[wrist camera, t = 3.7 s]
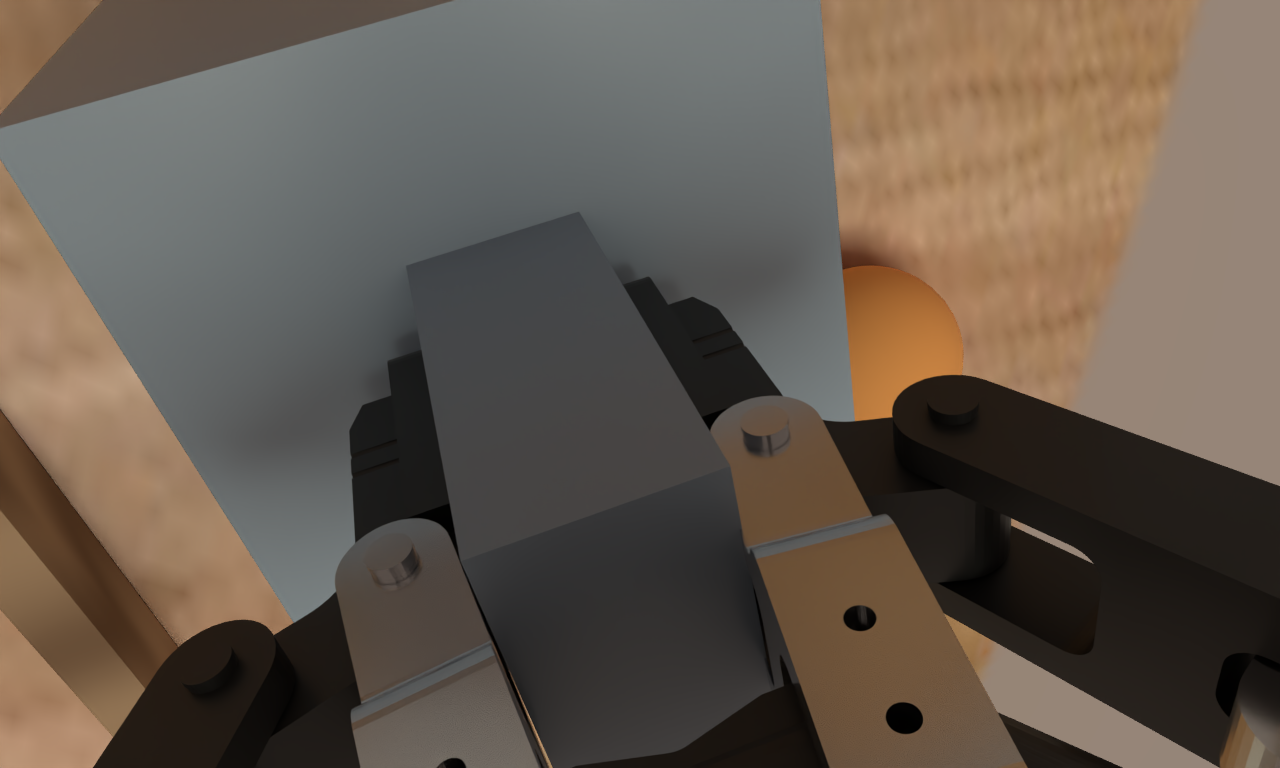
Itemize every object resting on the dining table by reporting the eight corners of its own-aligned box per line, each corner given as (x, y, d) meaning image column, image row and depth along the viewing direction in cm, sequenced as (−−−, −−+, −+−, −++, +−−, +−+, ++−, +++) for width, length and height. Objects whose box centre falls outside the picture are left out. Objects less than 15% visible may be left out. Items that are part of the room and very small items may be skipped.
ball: (739, 268, 27) (814, 356, 22) (901, 214, 27) (1004, 291, 23) (761, 407, 29) (832, 508, 25) (907, 356, 30) (1000, 447, 26)
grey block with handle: (114, -13, 18) (-286, 432, 6) (626, -151, 19) (1149, -9, 7) (324, 407, 24) (337, 1053, 12) (705, 282, 25) (1062, 755, 13)
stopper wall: (-116, 367, 22) (-161, 427, 20) (-48, 346, 22) (-86, 404, 20) (178, 728, 30) (167, 798, 28) (225, 711, 30) (218, 779, 28)
